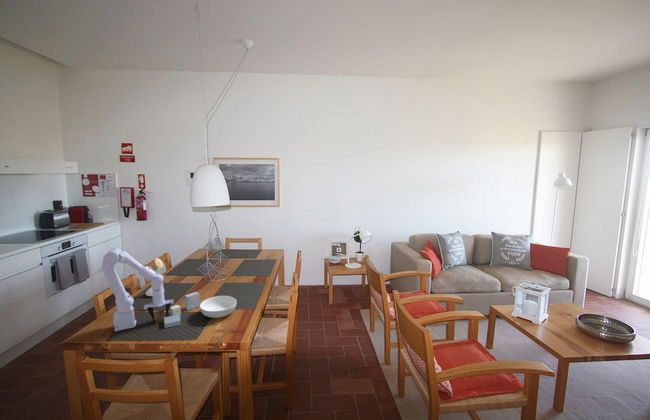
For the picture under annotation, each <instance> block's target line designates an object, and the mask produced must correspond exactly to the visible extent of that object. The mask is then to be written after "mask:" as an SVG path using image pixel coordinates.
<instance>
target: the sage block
mask: <svg viewBox="0 0 650 420" xmlns="http://www.w3.org/2000/svg"><path fill="white" fill-rule="evenodd" d="M181 307H182V306H180V305H178V304H175V305H171V306H170V309H169V316H173V315H178V314H180V317H181V316H182V308H181Z"/></svg>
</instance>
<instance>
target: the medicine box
mask: <svg viewBox="0 0 650 420" xmlns="http://www.w3.org/2000/svg"><path fill="white" fill-rule="evenodd" d="M183 297H184V308H185V310H187V311H190V310H194V309H197V308H198V307H199V308H200V304H201V294H200V293H199V292H198V291H194V292H192V293H188V294H185V295H184V296H183Z"/></svg>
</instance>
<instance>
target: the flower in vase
mask: <svg viewBox="0 0 650 420" xmlns="http://www.w3.org/2000/svg"><path fill="white" fill-rule="evenodd" d="M154 264H155V269H154V271H155V272H156V273H157V272H158V273H159V272H160V271H161V269H163V267H164V262H163V261H162V259H160V258H159V257H156V258H155V259H154ZM145 296H148V297H153V295H152V286H151V287H149V288H148V289H147V290H146V291H145Z"/></svg>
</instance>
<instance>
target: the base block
mask: <svg viewBox="0 0 650 420" xmlns="http://www.w3.org/2000/svg"><path fill="white" fill-rule="evenodd" d="M181 321H182V320H181V316H180V314H178V315H173V316H170V315H168V316H167V317H166V316H165V317H164V322H163V323H164V329H168V328H169V329H170V328H173V327H177V326H181V324H182V322H181Z"/></svg>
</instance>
